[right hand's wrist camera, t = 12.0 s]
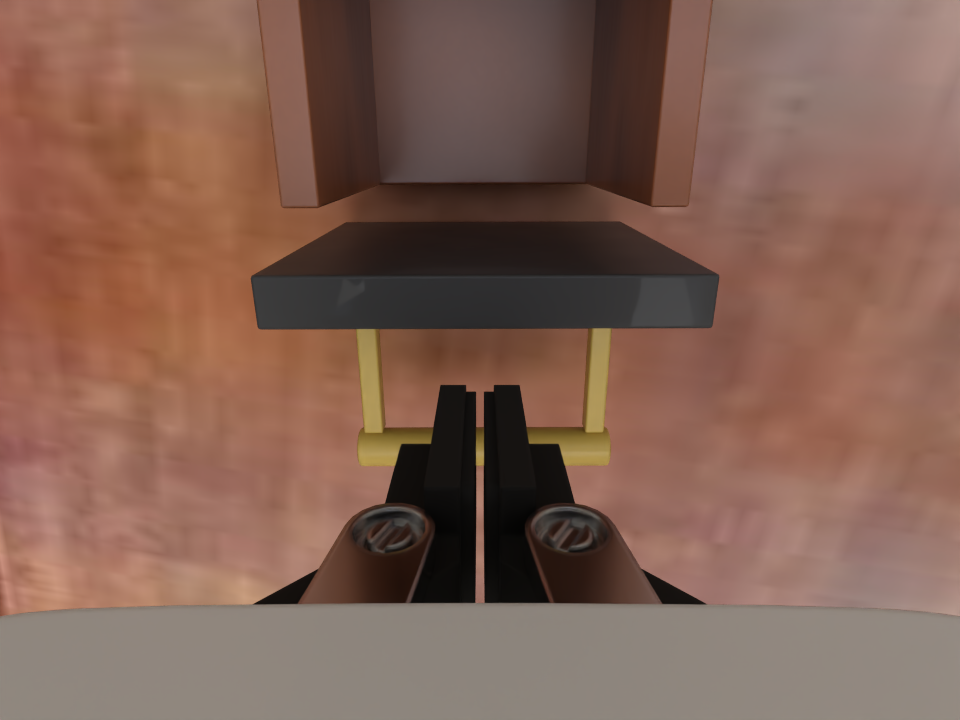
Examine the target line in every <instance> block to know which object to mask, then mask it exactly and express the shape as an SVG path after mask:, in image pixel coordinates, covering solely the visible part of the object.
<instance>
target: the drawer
mask: <svg viewBox="0 0 960 720" xmlns="http://www.w3.org/2000/svg"><path fill="white" fill-rule="evenodd" d="M712 3H713V0H257V7H258V15H259V24H260V32H261V41H262V49H263V58H264V66H265V75H266V83H267V91H268V100H269V108H270V117H271V125H272V134H273V142H274V151H275V159H276V168H277V176H278V185H279V193H280V201H281V206H282V208H319V207H321V206H324V205H327V204H329V203H332V202H335V201H337V200H340V199H342V198H345V197H348V196H350V195H353V194H356V193H358V192H361V191H364V190H366V189H369V188H372V187H374V186H377V185H407V184H589V185H592V186H594V187H597V188H600V189H603V190H606V191H609V192H612V193H614V194H617V195H620V196H623V197H626V198H629V199H632V200H634V201H637V202H640V203H643V204H646V205H649V206H651V207H686V206H688V205H689V199H690V190H691V182H692V173H693V165H694V156H695V148H696V139H697V131H698V122H699V114H700V105H701V97H702V88H703V80H704V71H705V63H706V54H707V46H708V37H709V29H710V20H711V12H712ZM718 282H719V275H718V274H716V273H715V272H713V271H711V270H709V269H707V268H705V267H703V266H702V265H700V264H698V263H696V262H694V261H692V260H690V259H689V258H687V257H685V256H683V255H681V254H679V253H677V252H675V251H674V250H672V249H670V248H668V247H666V246H664V245H662V244H661V243H659V242H657V241H655V240H653V239H651V238H649V237H648V236H646V235H644V234H642V233H640V232H638V231H636V230H635V229H633V228H631V227H629V226H627V225H625V224H623V223H622V222H350V223H344V224H342V225H341V226H339V227H337V228H335V229H334V230H332V231H330V232H328V233H327V234H325V235H323V236H321V237H320V238H318V239H316V240H314V241H312V242H311V243H309V244H307V245H305V246H304V247H302V248H300V249H298V250H297V251H295V252H293V253H291V254H290V255H288V256H286V257H284V258H283V259H281V260H279V261H277V262H275V263H274V264H272V265H270V266H268V267H267V268H265V269H263V270H261V271H260V272H258V273H256V274H254V275H253V276H251V283H252V290H253V297H254V304H255V311H256V318H257V325H258V328H259V329H356V336H357V348H358V361H359V373H360V385H361V398H362V410H363V423H364V428H362V429H361V430H360V432H359V436H358V443H357V455H358V461H359V464H360V465H361V466H395V464H396V461H397V457H398V453H399V449H400V446H401V444H431V439H432V433H433V427H431V428H384V427H385V409H384V394H383V379H382V364H381V348H380V333H379V329H575V328H588V341H587V356H586V372H585V388H584V403H583V419H582V425H583V427H527V433H528V439H529V444H559V446H560V449H561V453H562V457H563V461H564V464H565V466H592V465H608V463H609V460H610V454H611V443H610V436H609V432H608V430H607V428H605V427H604V420H605V408H606V395H607V382H608V370H609V357H610V344H611V332H612V328H711V327H712V325H713V318H714V311H715V304H716V297H717V289H718ZM476 466H484V427H476Z"/></svg>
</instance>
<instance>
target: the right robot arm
mask: <svg viewBox="0 0 960 720" xmlns="http://www.w3.org/2000/svg"><path fill="white" fill-rule="evenodd" d="M475 585H476V392H466V385H441V386H440V391H439V397H438V403H437V409H436V415H435V421H434V427H433V433H432V439H431V444H401V446H400V449H399V453H398V457H397V461H396V464H395V468H394V472H393V476H392V479H391V483H390V487H389V491H388V494H387V498H386V502H385V504H380V505H375V506H372V507H370V508H367V509H364V510H362V511H361V512H359V513H358V514H356V515H354V516H353V517H352V518H351V519H350V520H349V521H348V522H347V524H346V525H345V526H344V528H343V530H342V531H341V533H340V534H339V536H338V538H337V539H336V541H335V543H334V544H333V546H332V548H331V549H330V551H329V553H328V554H327V556H326V558H325V559H324V561H323V563H322V564H321V566H320V568H319V569H317V570H315V571H314V572H312V573H310V574H308V575H306V576H304V577H303V578H301V579H299V580H297V581H295V582H293V583H291V584H290V585H288V586H286V587H284V588H282V589H280V590H278V591H277V592H275V593H273V594H271V595H269V596H267V597H266V598H264V599H262V600H260V601H258V602H256V603H254V604H253V605H177V606H144V607H114V608H83V609H62V610H51V611H40V612H29V613H19V614H12V615H6V616H0V720H960V616H955V615H948V614H941V613H931V612H921V611H910V610H898V609H878V608H850V607H816V606H779V605H707V604H706V603H704V602H702V601H700V600H698V599H696V598H694V597H693V596H691V595H689V594H687V593H685V592H683V591H682V590H680V589H678V588H676V587H674V586H672V585H670V584H669V583H667V582H665V581H663V580H661V579H659V578H657V577H656V576H654V575H652V574H650V573H648V572H646V571H645V570H643V569H641V568H640V566H639V564H638V563H637V561H636V559H635V558H634V556H633V554H632V553H631V551H630V549H629V548H628V546H627V544H626V543H625V541H624V539H623V538H622V536H621V534H620V533H619V531H618V530H617V528H616V526H615V525H614V524H613V522H612V521H611V520H610V519H609V518H608V517H607V516H606V515H604V514H602V513H601V512H599V511H598V510H596V509H593V508H590V507H588V506H585V505H580V504H575V502H574V498H573V494H572V491H571V487H570V483H569V479H568V476H567V472H566V468H565V464H564V461H563V457H562V453H561V449H560V446H559V444H529V439H528V433H527V427H526V421H525V415H524V409H523V403H522V397H521V391H520V386H519V385H494V392H484V586H485V603H475Z"/></svg>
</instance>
